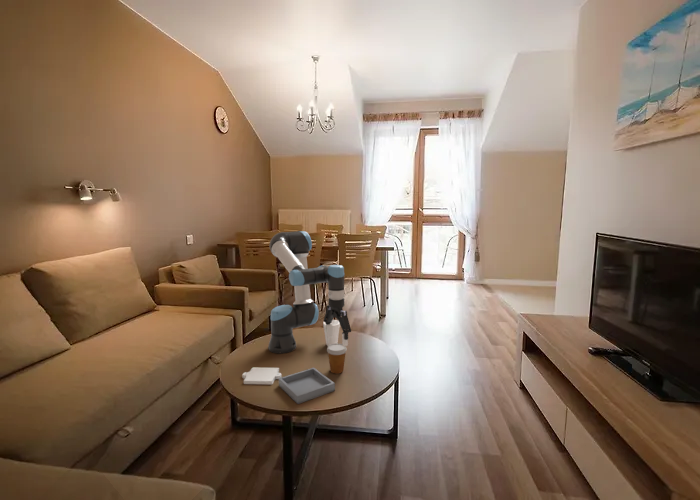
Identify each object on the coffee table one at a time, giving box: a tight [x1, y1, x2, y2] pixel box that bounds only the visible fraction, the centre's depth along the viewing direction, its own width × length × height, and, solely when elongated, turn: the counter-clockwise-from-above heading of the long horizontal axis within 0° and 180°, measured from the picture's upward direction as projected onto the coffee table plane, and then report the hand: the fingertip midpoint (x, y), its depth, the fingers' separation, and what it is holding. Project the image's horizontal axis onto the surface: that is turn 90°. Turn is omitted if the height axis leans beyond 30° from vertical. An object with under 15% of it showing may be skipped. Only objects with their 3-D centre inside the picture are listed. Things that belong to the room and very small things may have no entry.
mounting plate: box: [241, 366, 282, 385], centre depth 169 cm, size 18×13×2 cm
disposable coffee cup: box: [326, 343, 348, 374], centre depth 175 cm, size 10×10×12 cm
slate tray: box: [278, 367, 336, 405], centre depth 159 cm, size 18×18×4 cm
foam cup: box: [322, 319, 341, 347], centre depth 206 cm, size 10×9×13 cm
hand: (337, 341), depth 173 cm, fingers open, 13 cm apart
